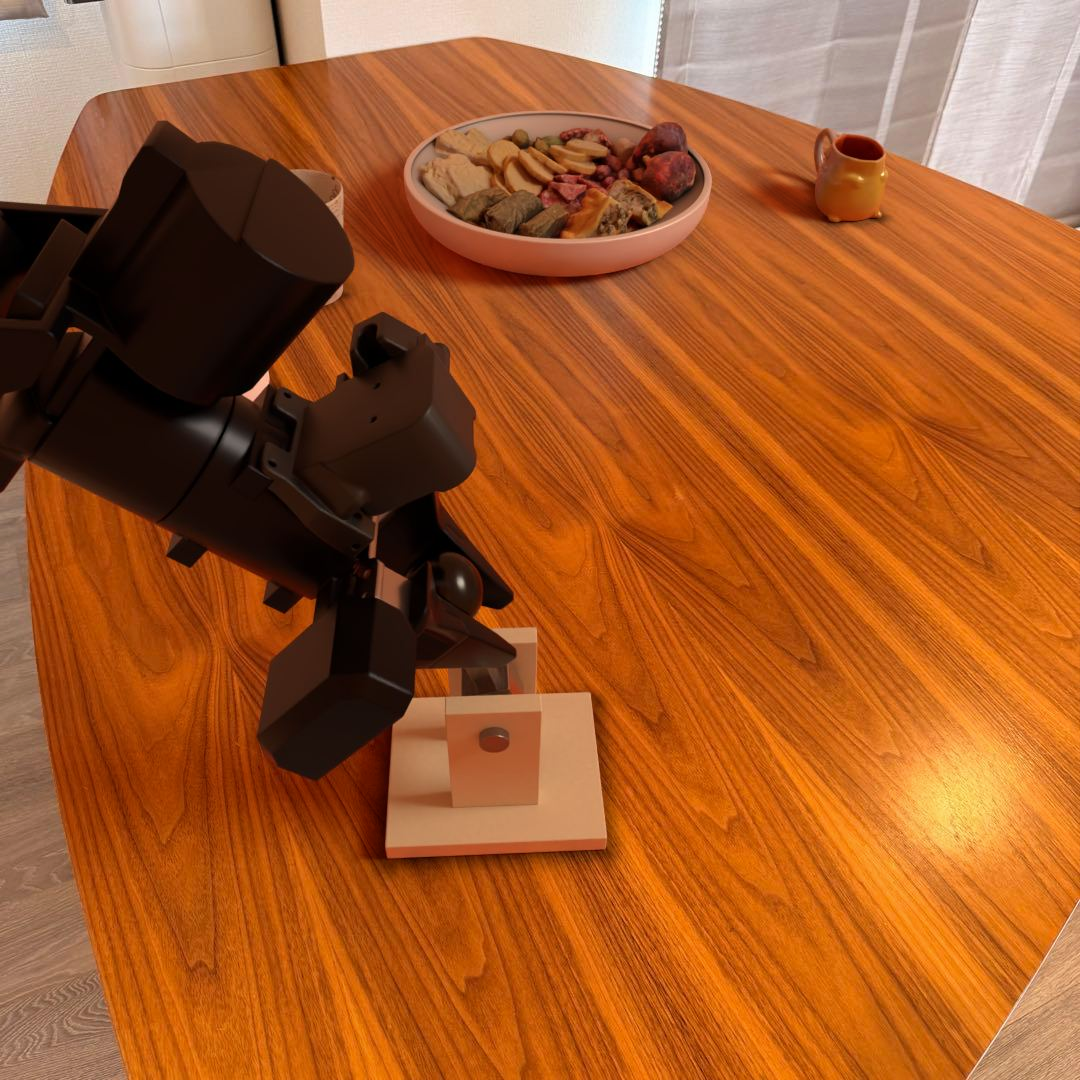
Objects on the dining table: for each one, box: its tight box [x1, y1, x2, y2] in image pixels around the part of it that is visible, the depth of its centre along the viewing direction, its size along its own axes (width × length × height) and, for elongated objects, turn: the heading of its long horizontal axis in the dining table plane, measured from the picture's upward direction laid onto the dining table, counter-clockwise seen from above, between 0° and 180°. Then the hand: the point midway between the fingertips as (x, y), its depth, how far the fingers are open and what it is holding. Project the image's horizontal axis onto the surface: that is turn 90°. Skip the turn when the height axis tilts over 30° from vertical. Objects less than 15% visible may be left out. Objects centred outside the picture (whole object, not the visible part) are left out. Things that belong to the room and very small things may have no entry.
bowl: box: [403, 109, 713, 278], centre depth 96 cm, size 30×30×8 cm
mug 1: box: [289, 168, 345, 307], centre depth 83 cm, size 8×12×10 cm, turn 105°
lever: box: [403, 550, 524, 696], centre depth 44 cm, size 11×4×4 cm
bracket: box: [384, 626, 608, 859], centre depth 49 cm, size 11×9×9 cm
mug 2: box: [813, 127, 889, 223], centre depth 100 cm, size 12×7×7 cm, turn 10°
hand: (509, 630), depth 44 cm, fingers closed on lever, 3 cm apart
